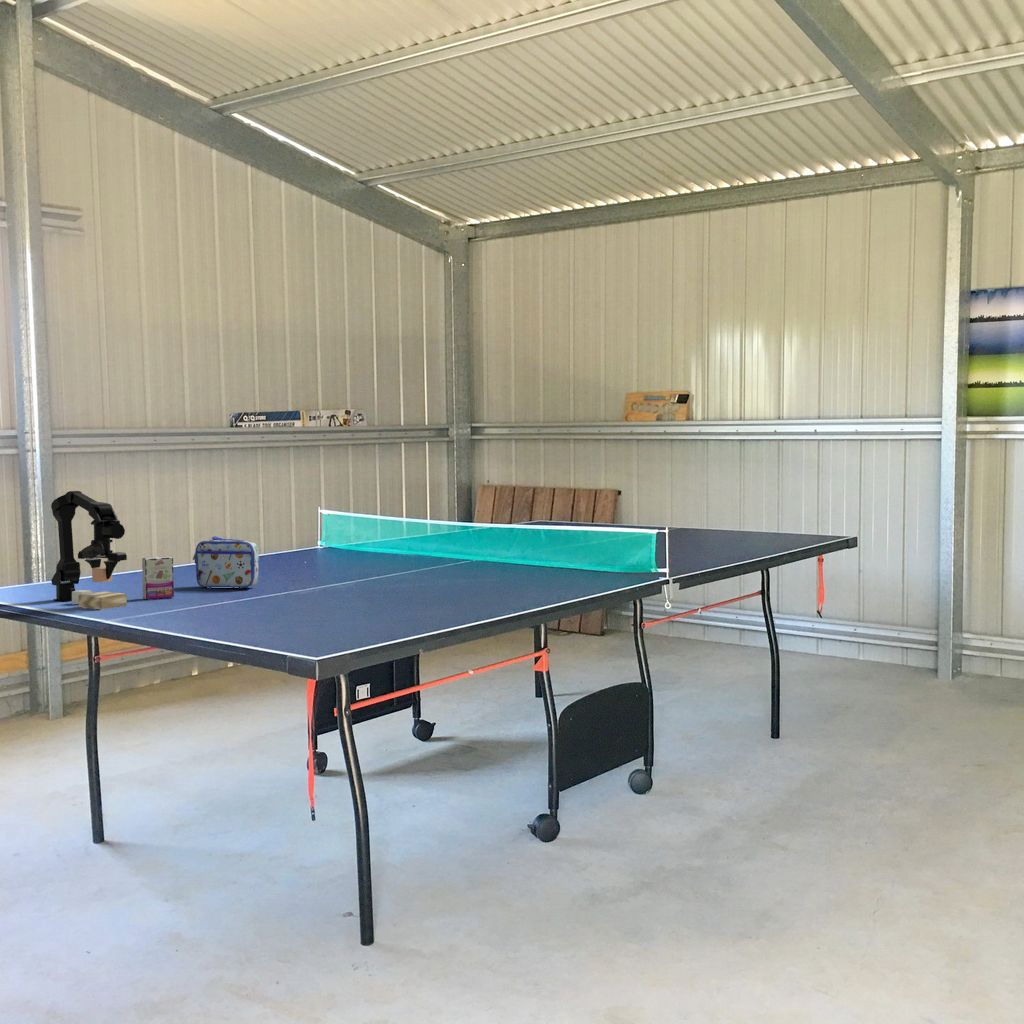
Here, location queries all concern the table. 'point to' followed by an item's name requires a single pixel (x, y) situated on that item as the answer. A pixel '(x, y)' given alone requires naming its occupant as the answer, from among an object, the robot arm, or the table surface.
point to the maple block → (102, 600)
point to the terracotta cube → (100, 575)
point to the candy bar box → (157, 577)
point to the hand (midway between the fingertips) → (102, 578)
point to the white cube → (76, 595)
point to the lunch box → (226, 563)
